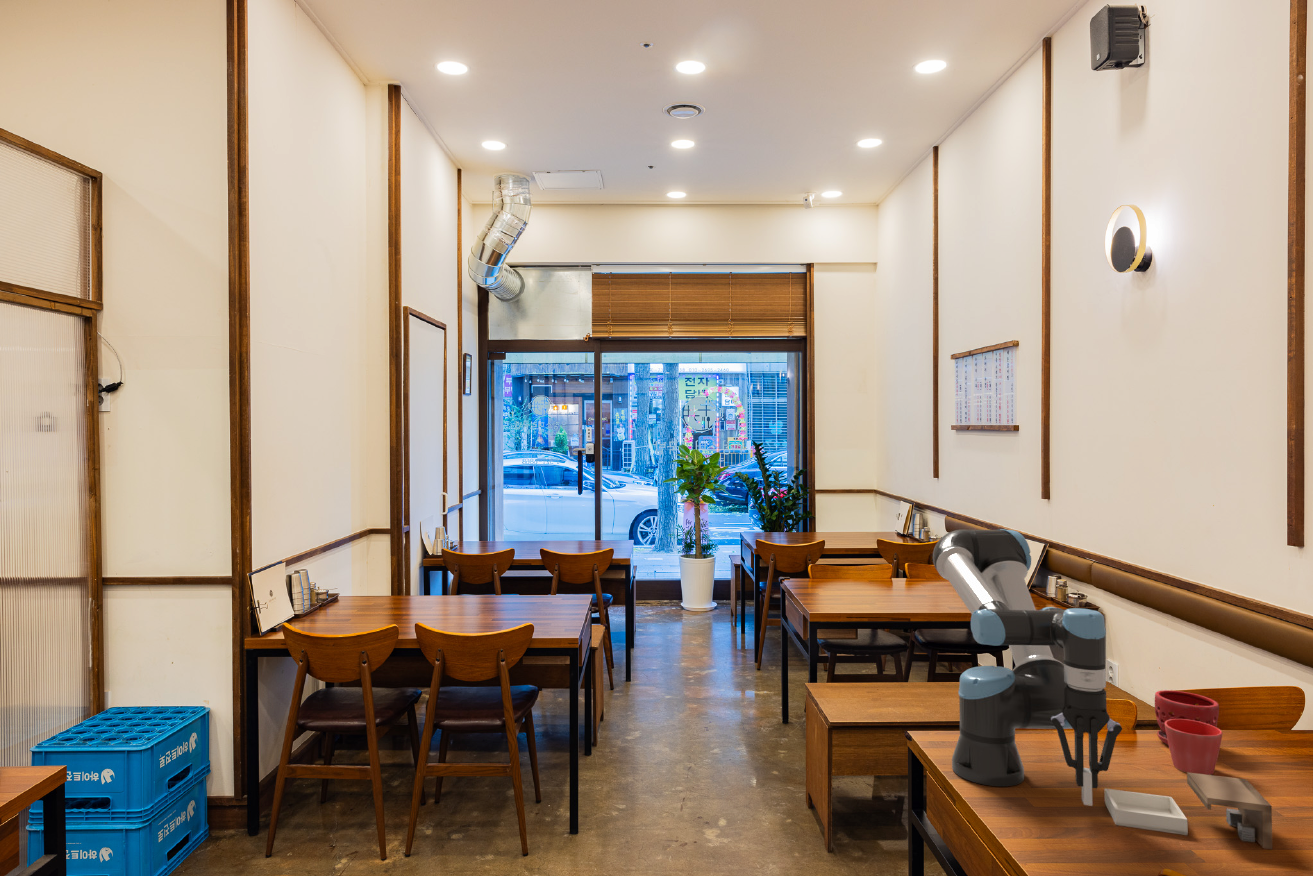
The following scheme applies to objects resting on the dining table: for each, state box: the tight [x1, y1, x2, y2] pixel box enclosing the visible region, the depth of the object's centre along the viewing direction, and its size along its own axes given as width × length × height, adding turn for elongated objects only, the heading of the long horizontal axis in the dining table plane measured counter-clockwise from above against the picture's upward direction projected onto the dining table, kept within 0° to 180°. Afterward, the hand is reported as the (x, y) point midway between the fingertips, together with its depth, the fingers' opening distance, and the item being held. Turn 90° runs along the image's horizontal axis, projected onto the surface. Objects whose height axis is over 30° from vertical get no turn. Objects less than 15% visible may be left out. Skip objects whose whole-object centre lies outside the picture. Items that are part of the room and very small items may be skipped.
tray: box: [1104, 787, 1189, 836], centre depth 152 cm, size 12×10×3 cm
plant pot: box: [1154, 689, 1220, 746], centre depth 189 cm, size 13×13×12 cm
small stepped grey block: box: [1225, 808, 1256, 843], centre depth 147 cm, size 2×8×2 cm, turn 160°
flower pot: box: [1165, 719, 1223, 775], centre depth 175 cm, size 11×11×10 cm
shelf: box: [1186, 772, 1273, 850], centre depth 147 cm, size 10×12×8 cm
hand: (1087, 802), depth 155 cm, fingers closed
